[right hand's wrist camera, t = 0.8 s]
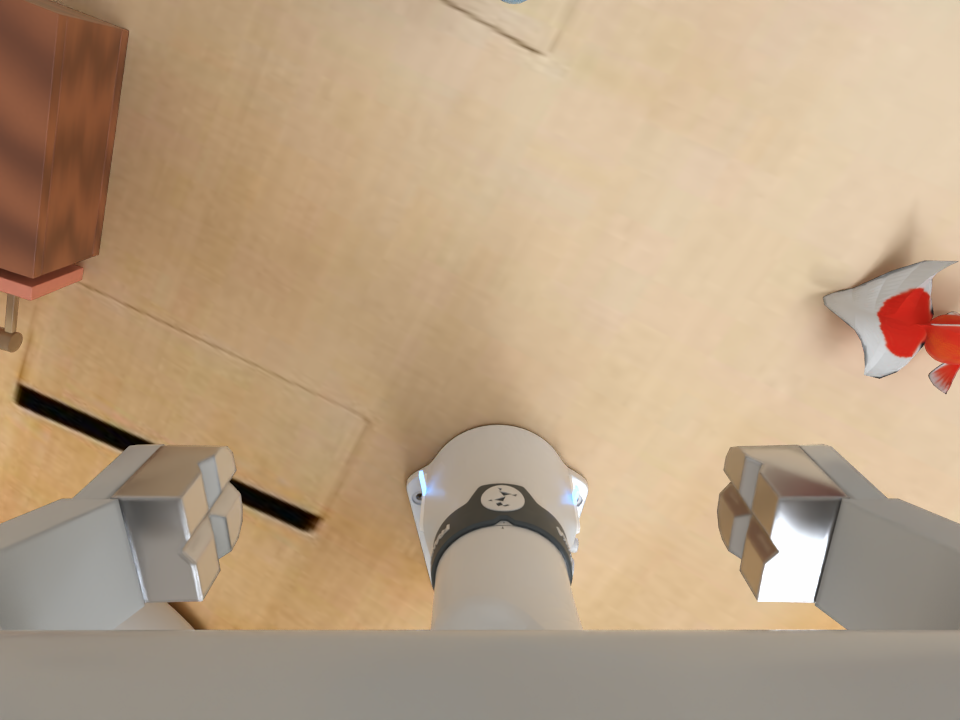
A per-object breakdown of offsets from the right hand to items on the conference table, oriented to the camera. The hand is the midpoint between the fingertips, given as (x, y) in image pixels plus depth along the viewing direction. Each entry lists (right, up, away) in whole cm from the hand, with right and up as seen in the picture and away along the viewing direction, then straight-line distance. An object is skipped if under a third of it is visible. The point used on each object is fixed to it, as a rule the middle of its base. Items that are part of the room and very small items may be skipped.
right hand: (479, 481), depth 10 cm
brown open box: (-36, +21, +41) cm, 59 cm away
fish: (+38, +6, +47) cm, 61 cm away
